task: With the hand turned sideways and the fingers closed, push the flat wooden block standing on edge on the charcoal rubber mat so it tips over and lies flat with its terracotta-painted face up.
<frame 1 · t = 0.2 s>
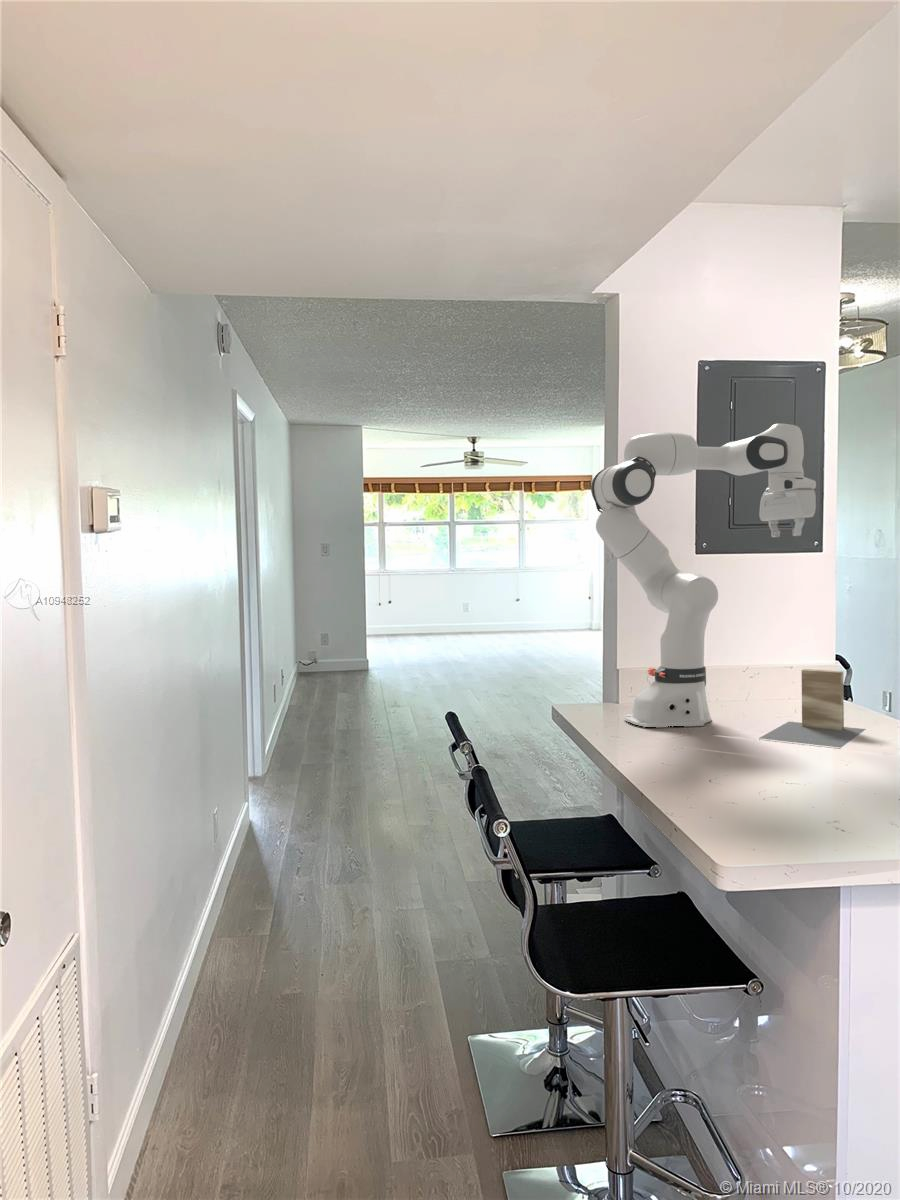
hand: (786, 536, 227), 47 cm above the worktop, tool pointing down, fingers open, 8 cm apart
rubber mat: (813, 735, 200), on the worktop
flat wooden block: (822, 727, 206), resting on rubber mat
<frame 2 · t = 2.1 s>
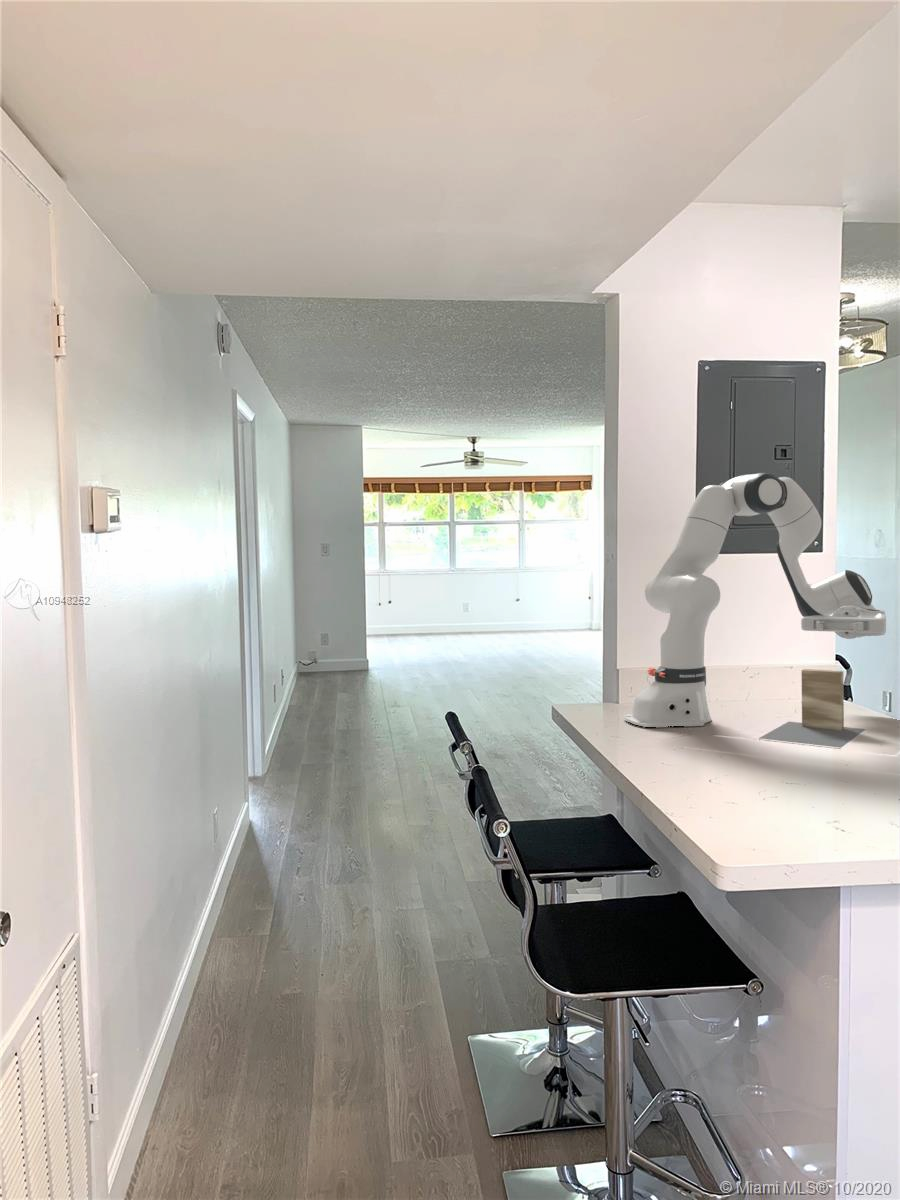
hand: (835, 626, 214), 24 cm above the worktop, tool horizontal, fingers open, 6 cm apart
nothing on the worktop moved.
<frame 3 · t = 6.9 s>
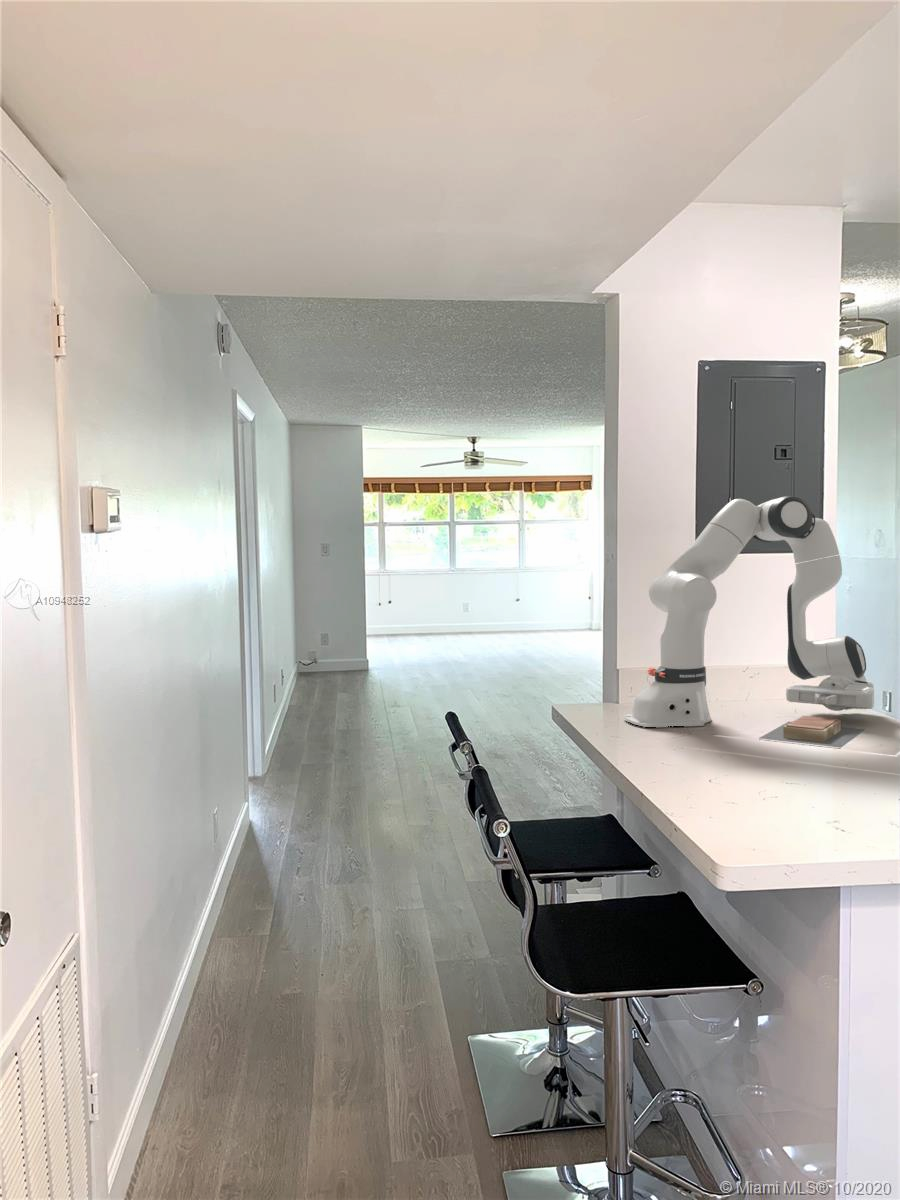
hand: (821, 701, 205), 7 cm above the worktop, tool horizontal, fingers closed
flat wooden block: (820, 723, 205), point 2 cm above the worktop, tilted 90°, touching rubber mat
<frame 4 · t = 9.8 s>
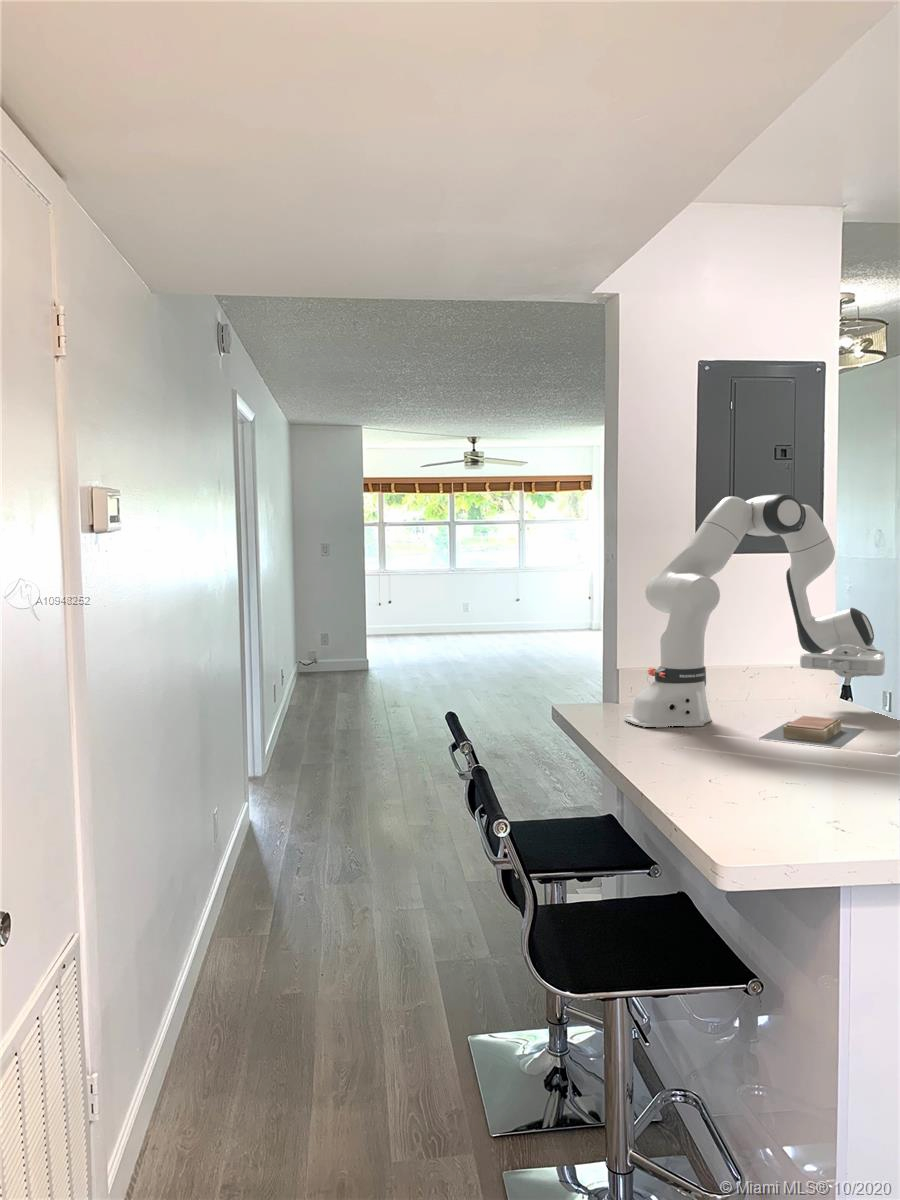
hand: (834, 666, 214), 14 cm above the worktop, tool horizontal, fingers closed
nothing on the worktop moved.
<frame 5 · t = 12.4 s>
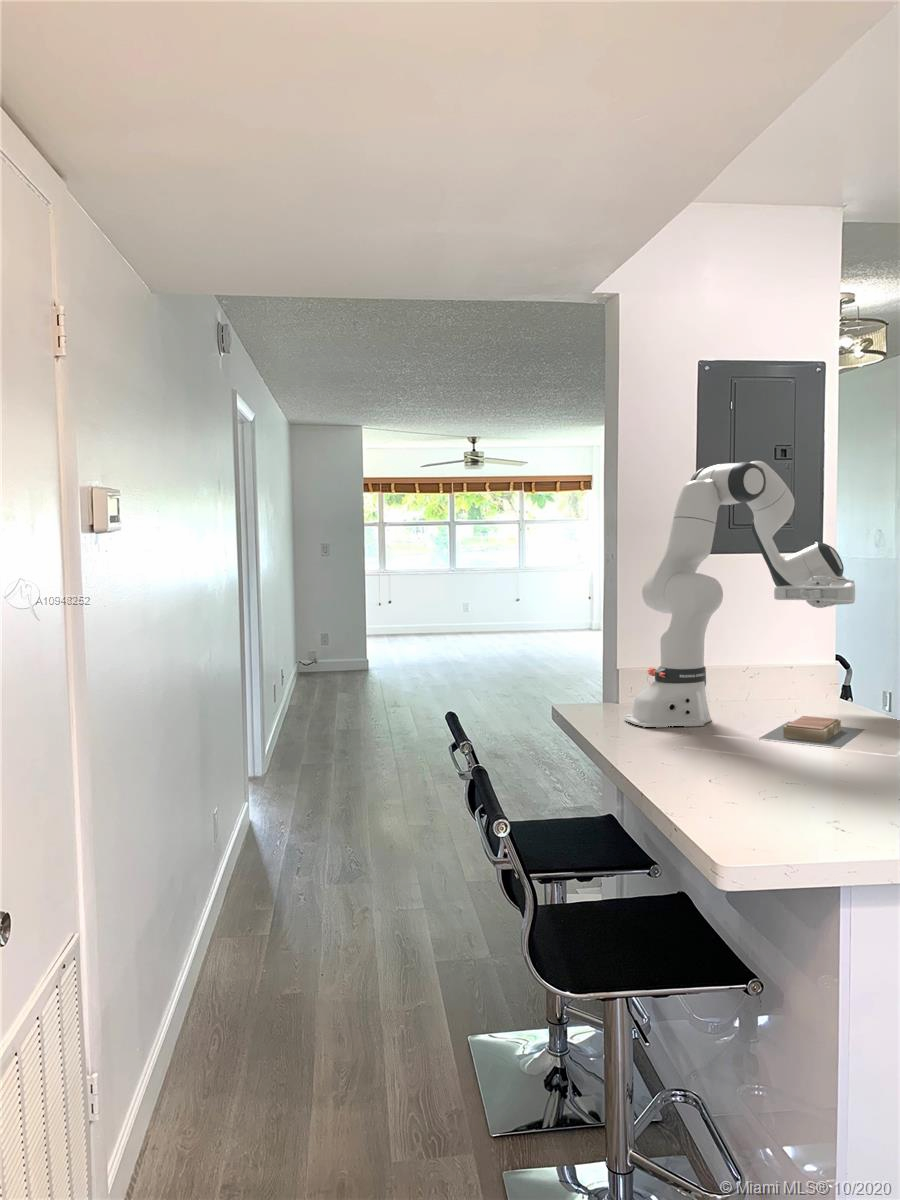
hand: (806, 594, 222), 32 cm above the worktop, tool horizontal, fingers closed
nothing on the worktop moved.
at the end: flat wooden block tilted 90°; flat wooden block inside the target area on the rubber mat (0.2 cm from its centre), point 1.6 cm above the rubber mat's base; flat wooden block touching rubber mat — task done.
